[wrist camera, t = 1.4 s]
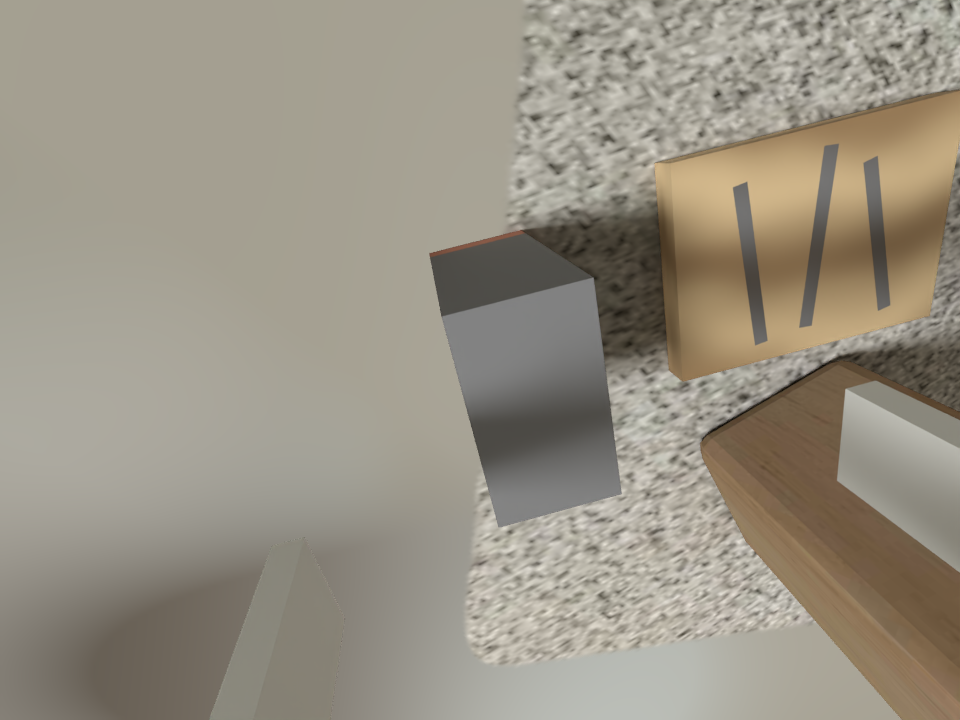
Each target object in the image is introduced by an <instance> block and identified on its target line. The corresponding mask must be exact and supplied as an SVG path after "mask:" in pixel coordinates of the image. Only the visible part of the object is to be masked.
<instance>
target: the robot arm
mask: <svg viewBox="0 0 960 720" xmlns="http://www.w3.org/2000/svg"><path fill="white" fill-rule="evenodd" d="M837 481H838V482H840V483H841V484H842V485H844V486H845V487H846V488H848V489H849V490H850V491H852V492H853V493H854V494H856V495H857V496H858V497H860V498H861V499H862V500H864V501H865V502H866V503H868V504H869V505H870V506H872V507H873V508H874V509H876V510H877V511H878V512H880V513H881V514H882V515H884V516H885V517H886V518H888V519H889V520H890V521H892V522H893V523H894V524H896V525H897V526H898V527H900V528H901V529H902V530H904V531H905V532H906V533H908V534H909V535H910V536H912V537H913V538H914V539H916V540H917V541H918V542H920V543H921V544H922V545H924V546H925V547H926V548H928V549H929V550H930V551H932V552H933V553H934V554H936V555H937V556H938V557H940V558H941V559H942V560H944V561H945V562H946V563H948V564H949V565H950V566H952V567H953V568H954V569H956V570H957V571H958V572H960V420H958V419H956V418H954V417H952V416H950V415H948V414H946V413H944V412H941V411H939V410H937V409H935V408H933V407H931V406H929V405H927V404H924V403H922V402H920V401H918V400H916V399H914V398H912V397H910V396H908V395H905V394H903V393H901V392H899V391H897V390H895V389H893V388H891V387H888V386H886V385H884V384H882V383H880V382H878V381H872V382H869V383H865V384H861V385H858V386H854V387H850V388H847V389H845V400H844V411H843V421H842V432H841V443H840V454H839V464H838V475H837ZM344 621H345V618H344V616H343V614H342V612H341V610H340V608H339V606H338V604H337V602H336V600H335V598H334V596H333V594H332V592H331V589H330V588H329V585H328V584H327V581H326V579H325V577H324V575H323V573H322V571H321V569H320V567H319V565H318V563H317V561H316V559H315V557H314V555H313V553H312V551H311V549H310V547H309V545H308V543H307V541H306V539H305V537H303V538H299V539H296V540H292V541H288V542H285V543H281V544H277V545H274V546H272V547H271V550H270V552H269V556H268V558H267V561H266V563H265V566H264V569H263V572H262V575H261V577H260V580H259V583H258V586H257V588H256V591H255V594H254V597H253V600H252V602H251V605H250V608H249V611H248V613H247V616H246V619H245V622H244V625H243V627H242V630H241V633H240V636H239V638H238V641H237V644H236V647H235V650H234V652H233V655H232V658H231V661H230V663H229V666H228V669H227V672H226V675H225V678H224V680H223V683H222V686H221V688H220V691H219V694H218V697H217V700H216V702H215V705H214V708H213V711H212V714H211V716H210V719H209V720H330V719H331V712H332V705H333V698H334V691H335V684H336V677H337V670H338V663H339V656H340V649H341V642H342V635H343V628H344Z"/></svg>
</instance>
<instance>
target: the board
mask: <svg viewBox="0 0 960 720" xmlns="http://www.w3.org/2000/svg"><path fill="white" fill-rule="evenodd" d="M959 140H960V90H954V91H946V92H938V93H933V94H929V95H925V96H921V97H917V98H913V99H909V100H905V101H901V102H897V103H893V104H889V105H885V106H881V107H877V108H873V109H869V110H865V111H861V112H857V113H853V114H849V115H845V116H841V117H837V118H833V119H829V120H825V121H821V122H817V123H813V124H809V125H805V126H801V127H797V128H793V129H789V130H785V131H781V132H777V133H773V134H769V135H765V136H761V137H757V138H753V139H749V140H745V141H741V142H737V143H733V144H729V145H725V146H721V147H717V148H713V149H709V150H705V151H701V152H697V153H693V154H689V155H685V156H681V157H677V158H673V159H669V160H665V161H661V162H657V163H655V177H656V191H657V206H658V220H659V235H660V249H661V264H662V278H663V293H664V307H665V321H666V336H667V350H668V365H669V371H670V372H672V373H673V374H674V375H675V376H676V377H678V378H679V379H680V380H681V381H687V380H691V379H694V378H698V377H702V376H706V375H709V374H713V373H717V372H721V371H724V370H728V369H732V368H736V367H739V366H743V365H747V364H751V363H754V362H758V361H762V360H766V359H769V358H773V357H777V356H781V355H784V354H788V353H792V352H796V351H799V350H803V349H807V348H811V347H814V346H818V345H822V344H826V343H829V342H833V341H837V340H841V339H844V338H848V337H852V336H856V335H859V334H863V333H867V332H871V331H874V330H878V329H882V328H886V327H889V326H893V325H897V324H901V323H904V322H908V321H912V320H916V319H919V318H923V317H927V316H930V311H931V305H932V299H933V293H934V287H935V281H936V275H937V269H938V264H939V258H940V252H941V246H942V240H943V234H944V228H945V222H946V216H947V211H948V205H949V199H950V193H951V187H952V181H953V175H954V169H955V163H956V158H957V152H958V146H959Z"/></svg>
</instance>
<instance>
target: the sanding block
mask: <svg viewBox="0 0 960 720" xmlns="http://www.w3.org/2000/svg"><path fill="white" fill-rule="evenodd" d="M430 259H431V264H432V269H433V275H434V280H435V285H436V290H437V295H438V300H439V306H440V311H441V316H442V320H443V323H444V327H445V331H446V335H447V338H448V342H449V346H450V349H451V353H452V357H453V360H454V364H455V368H456V371H457V375H458V379H459V383H460V386H461V390H462V394H463V397H464V401H465V405H466V408H467V412H468V416H469V420H470V423H471V427H472V430H473V434H474V438H475V442H476V445H477V449H478V453H479V456H480V460H481V464H482V468H483V471H484V475H485V479H486V482H487V486H488V490H489V493H490V497H491V501H492V504H493V508H494V512H495V515H496V519H497V523H498V527H503V526H507V525H510V524H514V523H518V522H521V521H525V520H529V519H532V518H536V517H540V516H543V515H547V514H551V513H554V512H558V511H561V510H565V509H569V508H572V507H576V506H580V505H583V504H587V503H591V502H594V501H598V500H602V499H605V498H609V497H613V496H616V495H620V494H622V493H621V485H620V478H619V470H618V462H617V455H616V447H615V439H614V431H613V424H612V416H611V408H610V400H609V393H608V385H607V377H606V370H605V362H604V354H603V346H602V339H601V331H600V323H599V315H598V308H597V300H596V292H595V285H594V277H592V276H591V275H589V274H587V273H586V272H584V271H583V270H581V269H580V268H578V267H577V266H575V265H574V264H572V263H571V262H569V261H567V260H566V259H564V258H563V257H561V256H560V255H558V254H557V253H555V252H554V251H552V250H551V249H549V248H548V247H546V246H544V245H543V244H541V243H540V242H538V241H537V240H535V239H534V238H532V237H531V236H529V235H528V234H526V233H525V232H523V231H521V230H520V231H516V232H512V233H508V234H504V235H500V236H496V237H492V238H488V239H484V240H481V241H476V242H472V243H468V244H464V245H460V246H456V247H452V248H448V249H445V250H441V251H437V252H433V253H430Z"/></svg>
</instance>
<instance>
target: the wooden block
mask: <svg viewBox="0 0 960 720" xmlns="http://www.w3.org/2000/svg"><path fill="white" fill-rule="evenodd" d="M872 381H878V382H880V383H882V384H884V385H886V386H888V387H891V388H893V389H895V390H897V391H899V392H901V393H903V394H905V395H908V396H910V397H912V398H914V399H916V400H918V401H920V402H922V403H924V404H927V405H929V406H931V407H933V408H935V409H937V410H939V411H941V412H944V413H946V414H948V415H950V416H952V417H954V418H956V419H958V420H960V412H958V411H956V410H954V409H952V408H950V407H947V406H945V405H943V404H941V403H939V402H937V401H934V400H932V399H930V398H928V397H926V396H924V395H922V394H919V393H917V392H915V391H913V390H911V389H909V388H906V387H904V386H902V385H900V384H898V383H896V382H893V381H891V380H889V379H887V378H885V377H883V376H881V375H878V374H876V373H874V372H872V371H870V370H868V369H865V368H863V367H861V366H859V365H857V364H855V363H852V362H848V361H838V362H834V363H830V364H828V365H826V366H824V367H823V368H821V369H819V370H818V371H816V372H814V373H813V374H811V375H809V376H807V377H806V378H804V379H802V380H801V381H799V382H797V383H795V384H794V385H792V386H790V387H789V388H787V389H785V390H784V391H782V392H780V393H778V394H777V395H775V396H773V397H772V398H770V399H768V400H766V401H765V402H763V403H761V404H760V405H758V406H756V407H755V408H753V409H751V410H749V411H748V412H746V413H744V414H743V415H741V416H739V417H737V418H736V419H734V420H732V421H731V422H729V423H727V424H726V425H724V426H722V427H720V428H719V429H717V430H715V431H714V432H712V433H710V434H709V435H707V436H706V437H705V438H704V439H703V441H702V442H701V443H700V447H701V453H702V458H703V460H704V462H705V464H706V466H707V468H708V470H709V472H710V474H711V476H712V477H713V479H714V481H715V483H716V485H717V487H718V489H719V491H720V493H721V495H722V497H723V499H724V500H725V502H726V504H727V506H728V508H729V510H730V512H731V514H732V516H733V518H734V520H735V521H736V523H737V525H738V527H739V529H740V531H741V533H742V535H743V537H744V539H745V541H746V542H747V543H748V544H749V545H750V546H751V548H752V549H753V550H754V551H755V552H756V553H757V554H758V556H759V557H760V558H761V559H762V560H763V561H764V562H765V564H766V565H767V566H768V567H769V568H770V569H771V570H772V572H773V573H774V574H775V575H776V576H777V577H778V579H779V580H780V581H781V582H782V583H783V584H784V585H785V587H786V588H787V589H788V590H789V591H790V592H791V593H792V595H793V596H794V597H795V598H796V599H797V600H798V601H799V603H800V604H801V605H802V606H803V607H804V608H805V609H806V611H807V612H808V613H809V614H810V615H811V616H812V617H813V619H814V620H815V621H816V622H817V623H818V624H819V625H820V627H821V628H822V629H823V630H824V631H825V632H826V633H827V635H828V636H829V637H830V638H831V639H832V640H833V641H834V643H835V644H836V645H837V646H838V647H839V648H840V649H841V651H842V652H843V653H844V654H845V655H846V656H847V657H848V659H849V660H850V661H851V662H852V663H853V664H854V665H855V667H856V668H857V669H858V670H859V671H860V672H861V673H862V675H863V676H864V677H865V678H866V679H867V680H868V682H869V683H870V684H871V685H872V686H873V687H874V688H875V689H876V691H877V692H878V693H879V694H880V695H881V696H882V697H883V699H884V700H885V701H886V702H887V703H888V704H889V706H890V707H891V708H892V709H893V710H894V711H895V712H896V714H898V716H899V717H900V718H901V719H902V720H960V572H958V571H957V570H956V569H954V568H953V567H952V566H950V565H949V564H948V563H946V562H945V561H944V560H942V559H941V558H940V557H938V556H937V555H936V554H934V553H933V552H932V551H930V550H929V549H928V548H926V547H925V546H924V545H922V544H921V543H920V542H918V541H917V540H916V539H914V538H913V537H912V536H910V535H909V534H908V533H906V532H905V531H904V530H902V529H901V528H900V527H898V526H897V525H896V524H894V523H893V522H892V521H890V520H889V519H888V518H886V517H885V516H884V515H882V514H881V513H880V512H878V511H877V510H876V509H874V508H873V507H872V506H870V505H869V504H868V503H866V502H865V501H864V500H862V499H861V498H860V497H858V496H857V495H856V494H854V493H853V492H852V491H850V490H849V489H848V488H846V487H845V486H844V485H842V484H841V483H840V482H838V481H837V475H838V464H839V454H840V443H841V432H842V421H843V411H844V400H845V389H847V388H850V387H854V386H858V385H861V384H865V383H869V382H872Z"/></svg>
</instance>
